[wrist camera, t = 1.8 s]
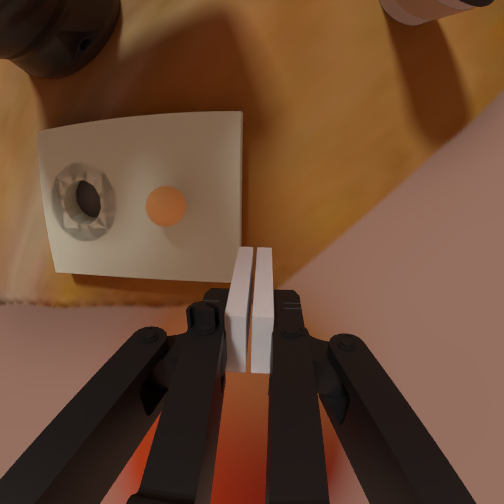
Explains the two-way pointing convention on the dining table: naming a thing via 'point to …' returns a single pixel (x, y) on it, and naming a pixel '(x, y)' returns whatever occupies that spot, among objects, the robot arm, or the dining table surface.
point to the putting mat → (144, 195)
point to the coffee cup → (427, 9)
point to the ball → (165, 206)
